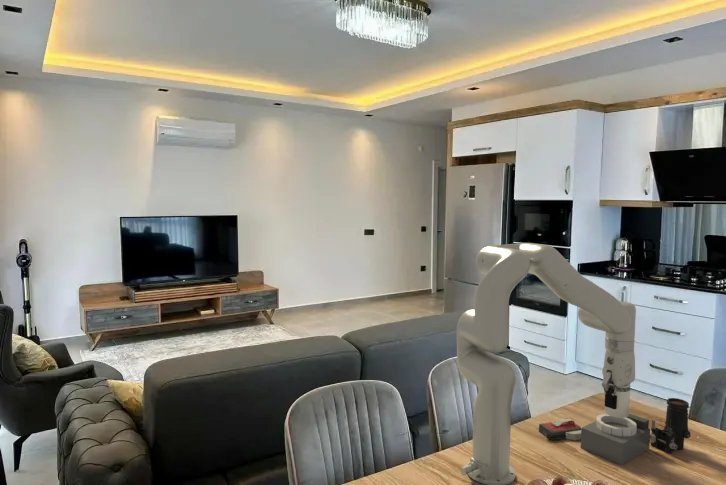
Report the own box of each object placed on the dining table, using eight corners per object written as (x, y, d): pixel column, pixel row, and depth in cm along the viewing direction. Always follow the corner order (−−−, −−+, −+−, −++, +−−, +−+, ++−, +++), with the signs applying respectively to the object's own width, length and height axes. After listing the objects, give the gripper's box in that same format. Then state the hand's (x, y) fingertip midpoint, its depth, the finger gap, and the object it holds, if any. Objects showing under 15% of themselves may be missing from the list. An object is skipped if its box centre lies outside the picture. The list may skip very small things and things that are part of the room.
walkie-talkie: (552, 445, 148) (607, 436, 154) (552, 431, 148) (607, 423, 154) (534, 432, 157) (586, 424, 162) (534, 418, 156) (587, 411, 162)
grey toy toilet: (621, 464, 137) (623, 435, 136) (580, 447, 146) (581, 419, 146) (649, 448, 146) (650, 420, 145) (609, 433, 156) (610, 407, 155)
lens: (622, 419, 141) (623, 388, 140) (600, 412, 146) (601, 381, 145) (633, 414, 145) (634, 383, 144) (611, 406, 150) (612, 377, 149)
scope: (650, 399, 147) (673, 394, 151) (647, 444, 148) (671, 438, 152) (676, 409, 140) (700, 404, 144) (674, 457, 141) (697, 450, 145)
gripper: (617, 352, 136) (614, 416, 137) (647, 342, 146) (644, 402, 147) (590, 346, 142) (588, 407, 143) (621, 337, 152) (618, 394, 153)
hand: (616, 404), depth 145 cm, fingers closed on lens, 6 cm apart
